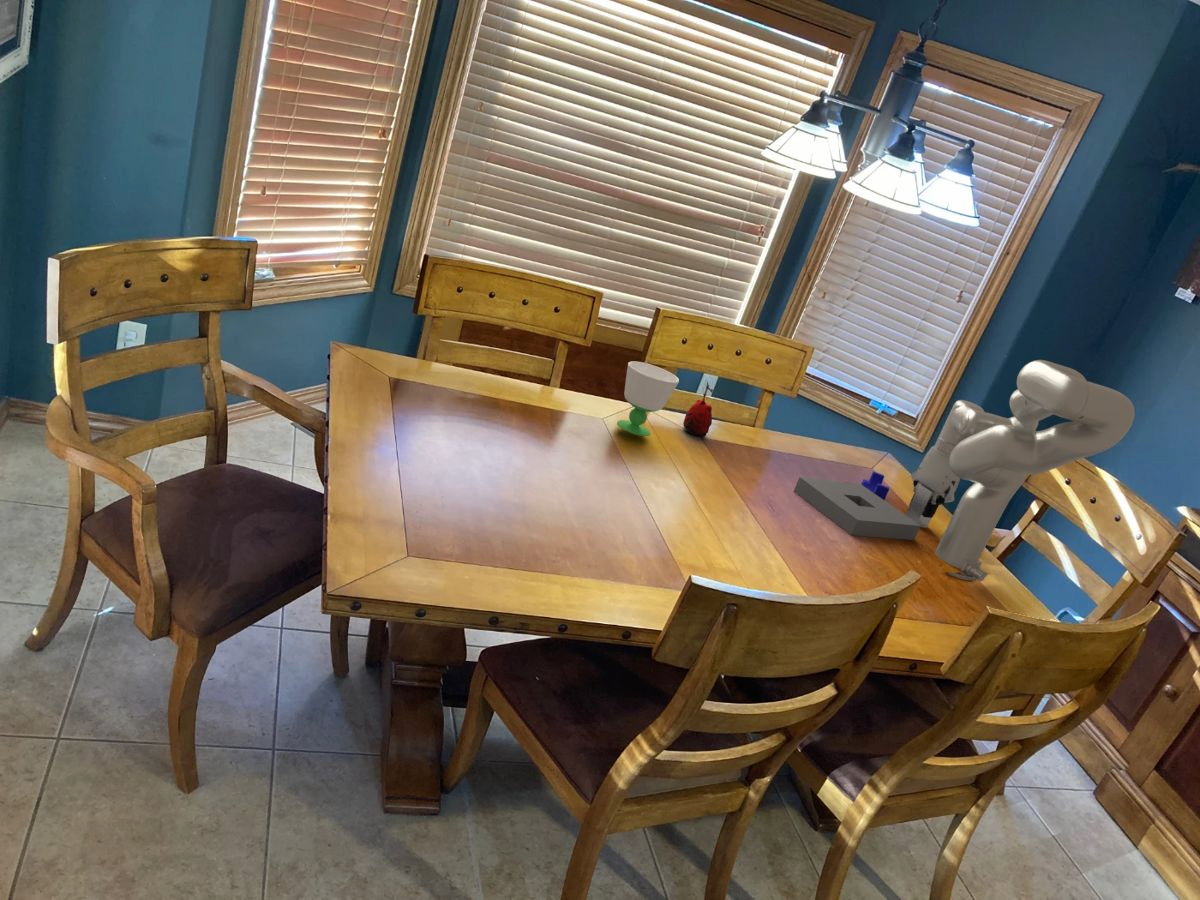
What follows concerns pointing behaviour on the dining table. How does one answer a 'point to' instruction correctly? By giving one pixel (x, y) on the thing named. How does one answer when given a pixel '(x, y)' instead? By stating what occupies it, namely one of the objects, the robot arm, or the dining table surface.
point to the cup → (646, 394)
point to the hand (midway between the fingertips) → (920, 511)
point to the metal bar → (920, 505)
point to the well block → (856, 509)
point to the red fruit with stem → (699, 417)
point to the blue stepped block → (876, 485)
